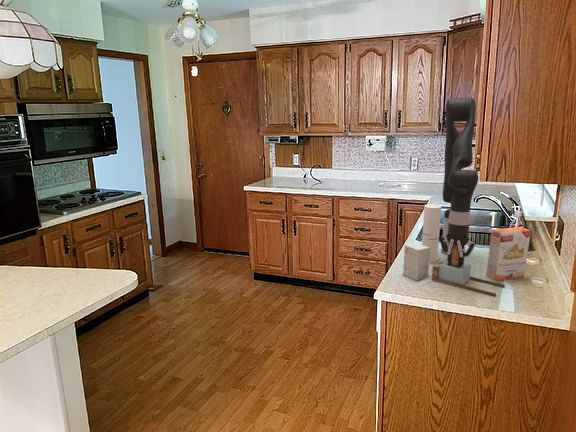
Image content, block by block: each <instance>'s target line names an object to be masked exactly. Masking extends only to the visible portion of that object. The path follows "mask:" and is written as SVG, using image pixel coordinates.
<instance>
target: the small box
mask: <svg viewBox="0 0 576 432" xmlns="http://www.w3.org/2000/svg"><path fill="white" fill-rule="evenodd" d="M429 255H430V248H429V247H426V246H424V245H422V243H421V244H420V243H418V242H413V243H408V244H405V245H404V256H403V273H402V274H403V275H404V276H406V277H408V278H411V279H413V280H414V281H420V280H421V281H422V280H424V279H426V278H427V277H429V269H430V267H429V266H430V263H429Z"/></svg>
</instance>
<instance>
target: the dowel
mask: <svg viewBox="0 0 576 432" xmlns="http://www.w3.org/2000/svg"><path fill="white" fill-rule="evenodd" d="M459 257H460V253H459V249H458V245H456V244H453V247H452V254H451V266H452V267H457V268H460V266H459Z"/></svg>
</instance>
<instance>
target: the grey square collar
mask: <svg viewBox="0 0 576 432" xmlns="http://www.w3.org/2000/svg"><path fill="white" fill-rule="evenodd" d="M471 268H472V264H471V263H468V262H464V264H463V265H462V266H460V268H457V267H452V266H451V264H449V263H448V261H445V262H444V263H442V264H441V265H439V276H438V279H441V280H445V281H449V282H453V283H457V284H461V285H465V284H466V283H468V282H469V281H470V276H471Z"/></svg>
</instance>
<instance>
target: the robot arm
mask: <svg viewBox="0 0 576 432" xmlns="http://www.w3.org/2000/svg"><path fill="white" fill-rule="evenodd" d="M476 106H477V105H476V101H475V98H473V97H457V98H456V97H455V98H449V99H448V100H447V101H446V103H445V146H444V176H443V183H442V184H443V185H442V200H443V202H445V203H447V204H448V203H449V204H450V208H448V209H446V210H445V211H444V215H443V225H442V227H443V228H442V236H439V243H440V244H441V245H440V246H441V248H440V249H441V253H442V254H444V255H446V256H447V258H446V259H447V261H448V263H449V264H451V254H452V247H453V244H456V245H458V249H459V253H460V257H459V266H462V265H463V264H464V263H465V257H467V258H468V257H469V256H470V255H471V254H472V252H473V250H474V248H475V246H476V244H477V243H476V242H475V241H472V240H470V237H469V233H470V223H471V221H470V220H471V205H472V199H473V198H472V197H473V194H474V192H475V190H476V188H477V185H478V182H479V173H478V172H477V171H476V170H474V169H465V168H468V167H471V165H472V164H473V143H474V142H473V141H474V140H473V139H474V131H475V124H476V122H475V121H476V109H477V107H476ZM455 122H458V123H461V122H466V123H465V125H464V128H463V129H462V131H461V132H460V133H459V132H458V130H457V128H456V125H455ZM466 245H467V247H468V248H467V249H466Z"/></svg>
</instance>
